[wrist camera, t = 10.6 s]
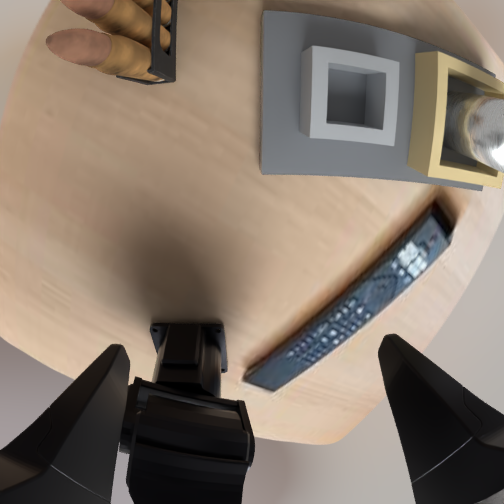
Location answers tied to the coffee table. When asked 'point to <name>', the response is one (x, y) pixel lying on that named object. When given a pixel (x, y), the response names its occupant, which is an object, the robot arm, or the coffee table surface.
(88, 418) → the robot arm
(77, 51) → the ammunition clip
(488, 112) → the steel fitting
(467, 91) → the board
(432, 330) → the coffee table surface
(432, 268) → the coffee table surface
